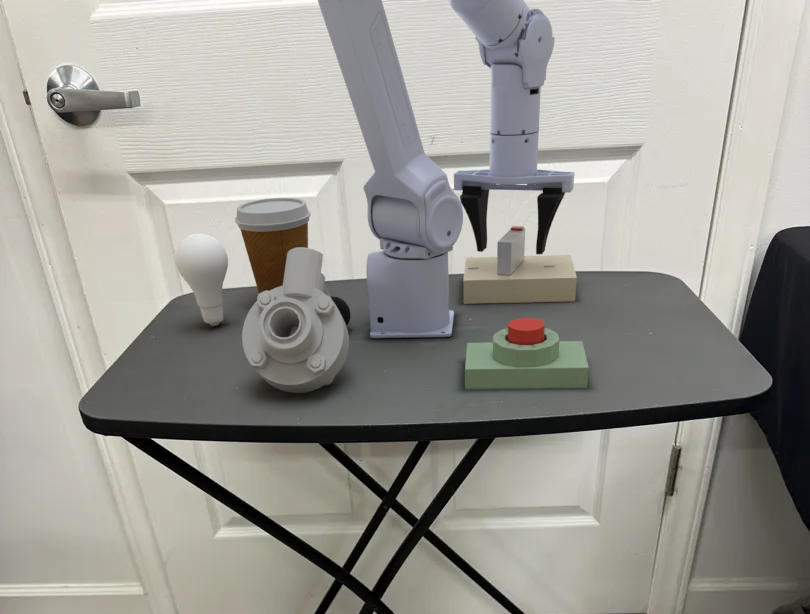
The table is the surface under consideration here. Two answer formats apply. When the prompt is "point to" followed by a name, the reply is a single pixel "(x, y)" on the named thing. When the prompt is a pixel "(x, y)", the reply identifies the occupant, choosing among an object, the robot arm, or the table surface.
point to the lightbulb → (204, 273)
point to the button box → (526, 364)
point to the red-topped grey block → (511, 250)
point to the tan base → (520, 280)
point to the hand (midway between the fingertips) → (510, 251)
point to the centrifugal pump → (298, 328)
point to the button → (526, 331)
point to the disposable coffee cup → (272, 236)
